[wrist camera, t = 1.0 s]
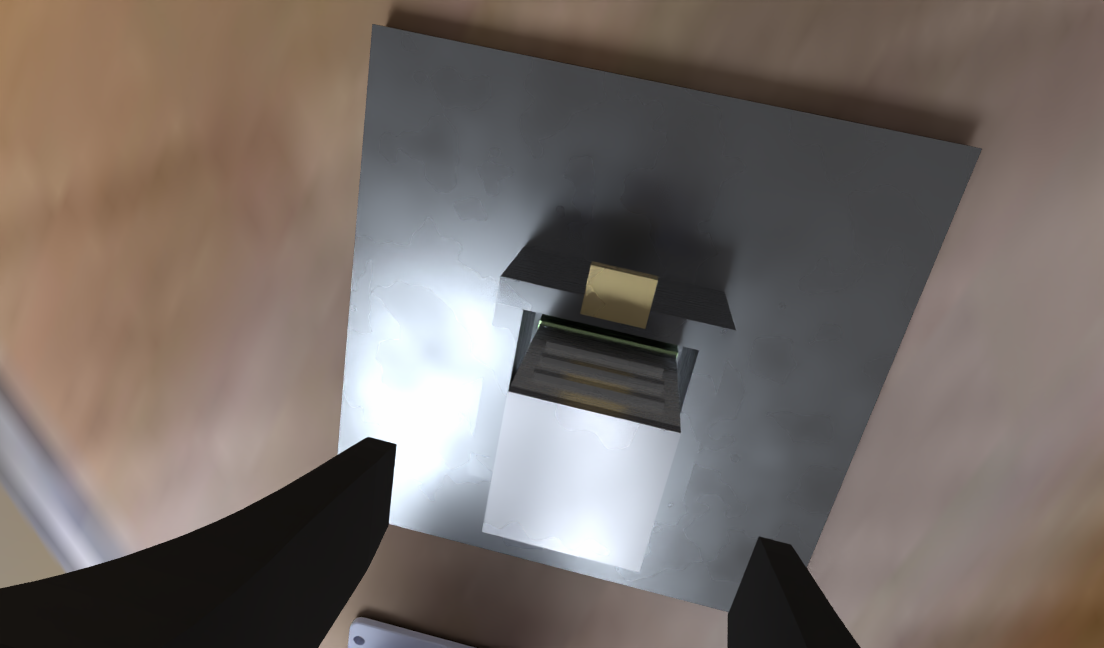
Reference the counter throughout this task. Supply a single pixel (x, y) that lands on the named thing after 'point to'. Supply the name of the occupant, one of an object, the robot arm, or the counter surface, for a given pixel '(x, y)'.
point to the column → (586, 443)
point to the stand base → (631, 285)
